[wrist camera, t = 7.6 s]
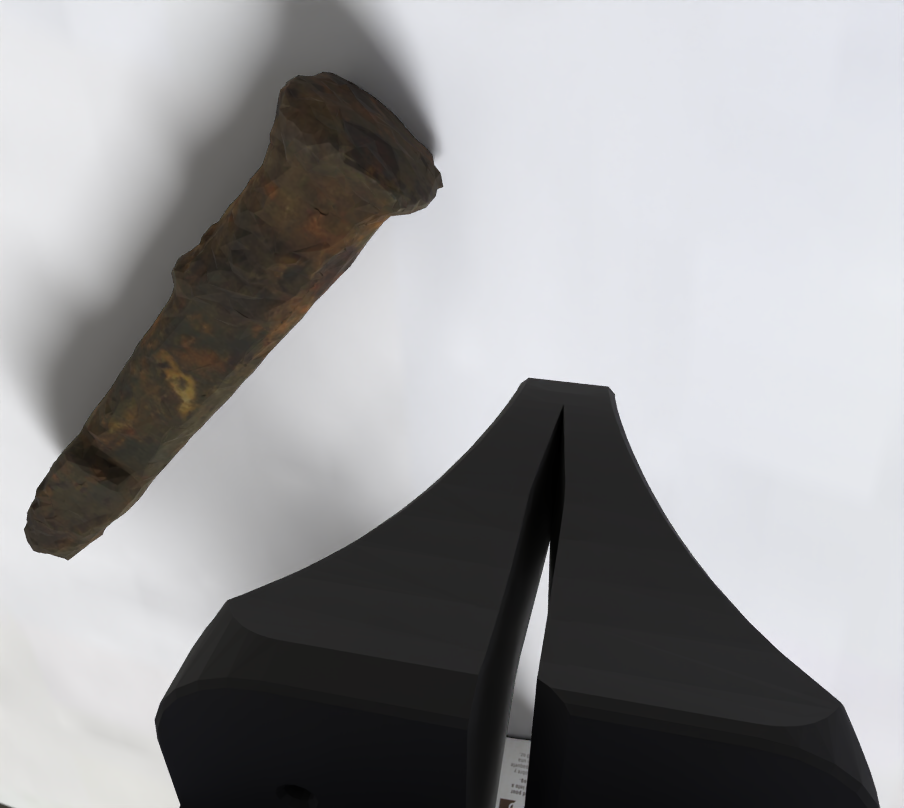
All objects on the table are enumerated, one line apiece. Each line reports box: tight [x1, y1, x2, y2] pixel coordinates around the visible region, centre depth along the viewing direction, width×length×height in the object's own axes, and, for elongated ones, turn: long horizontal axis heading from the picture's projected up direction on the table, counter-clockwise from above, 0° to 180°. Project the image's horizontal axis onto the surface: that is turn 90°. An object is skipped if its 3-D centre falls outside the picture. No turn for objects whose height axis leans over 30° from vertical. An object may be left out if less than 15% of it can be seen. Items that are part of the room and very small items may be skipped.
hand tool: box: [24, 72, 443, 560], centre depth 23 cm, size 19×4×5 cm, turn 138°
